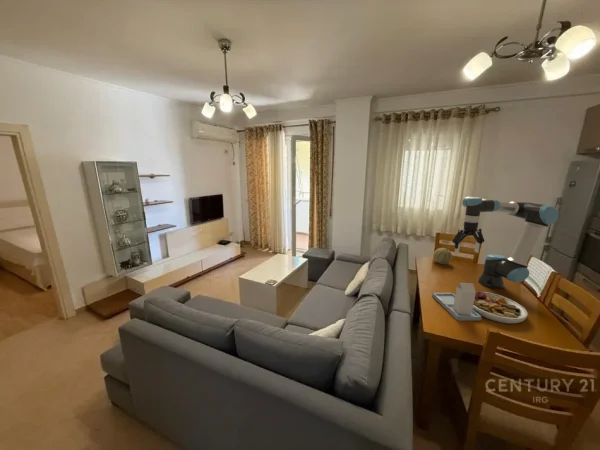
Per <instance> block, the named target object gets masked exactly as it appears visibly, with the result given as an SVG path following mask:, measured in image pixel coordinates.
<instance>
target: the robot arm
mask: <svg viewBox="0 0 600 450" xmlns="http://www.w3.org/2000/svg"><path fill="white" fill-rule="evenodd" d="M461 204H462V206H463V207H464V208H465V213H464V214H465V215H464V223H463V228H459V229H458V231H457V233H456V234H455V236H454V238H453V240H452V243H453V244H454V253H455V254H456V255H459V254H460V246H461V244H460V243H462V241H463V240H464V239H465V238H466V237H469V236H472V237H474V238H473V239H475V241H476V242H475V245H474V252H475V253H477V254H479V252H480V251H479V250H480V248H481V244H483V243H485V239H484V236H483V233H482V228H481V227H479V221H480V215H481V213H493V212H496V213H503V214H506V215H508V216H512V217H516V218H520V219H523V220H524V224H525V227H524V228H523V230H522V232H521V235H520V237H519V238H518V241H517V243H516V244H515V247H514V249H513V252H512V253H511V254H510V256H509V257H507V256H505V255H500V254H492V253H491V254H488V255H486V256H485V261H484V265H483V271H482V274H481V275H480V276H479V277H478V280H477V281H479V282H478V283H479V284H480V283H481V285H482V286H484V287H487V288H491V289H498V290H499V289H503V288H504V285H505V283H504V278H505V279H507V281H511V282H513V283H521V282H524V281H525V280H527V279H528V277H530V270H529V269H528V267H529V265H528V263H527V262H528V260H529V259H530V256H531V254H532V252H533V250H534V248H535V247H536V244H537V242H538V240H539V238H540V236H541V234H542V232H543V230H544V229H547V228H548V227H549V226H550V225H553V224H555V223H556V222H557V221H558V220H559V211H558V209H557V208H556V207H555V206H553V205H548V204H543V203H542V204H541V203H535V202H534V203H533V202H527V201H526V202H523V201H522V202H520V201H519V202H518V201H510V202H507V201H502V200H498V199H488V198H483V197H478V196H475V197H474V196H466V197H464V198H463V200H462V202H461Z"/></svg>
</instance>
